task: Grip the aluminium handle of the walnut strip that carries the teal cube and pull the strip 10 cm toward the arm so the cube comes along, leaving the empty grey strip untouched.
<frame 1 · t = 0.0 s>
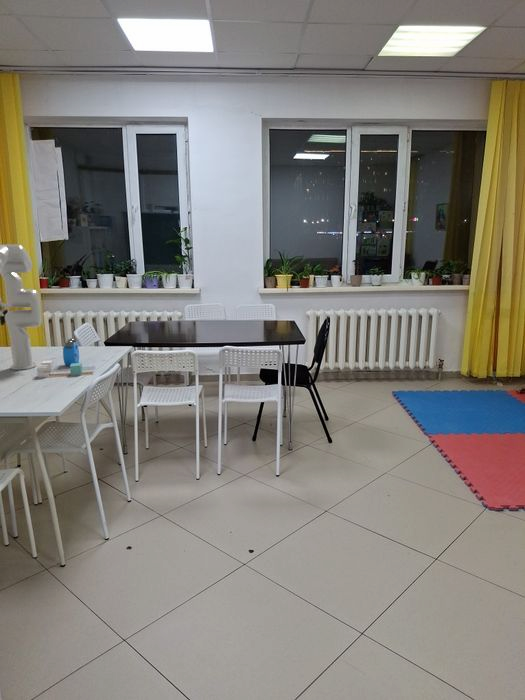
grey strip: (68, 365, 246), point 3 cm above the table, slide at 0.0 cm
alarm clock: (72, 366, 259), on the table
teal cube: (76, 373, 238), point 1 cm above the table, touching walnut strip
walnut strip: (65, 370, 237), point 3 cm above the table, slide at 0.0 cm, touching teal cube
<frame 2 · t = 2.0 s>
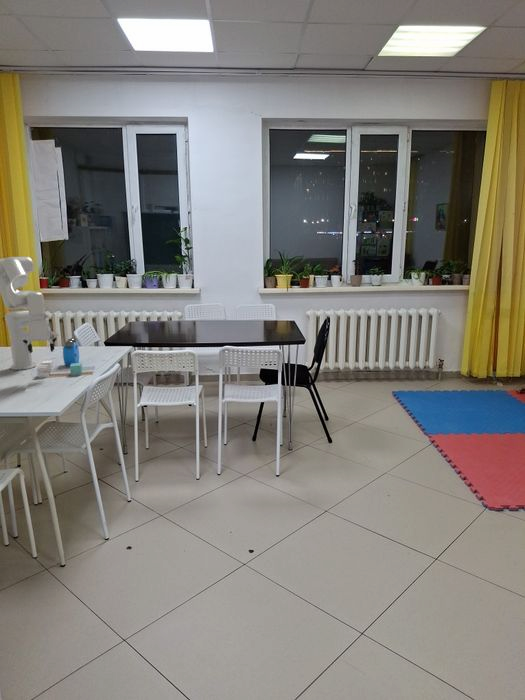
hand: (41, 351, 231), 14 cm above the table, tool pointing down, fingers open, 9 cm apart
nothing on the table moved.
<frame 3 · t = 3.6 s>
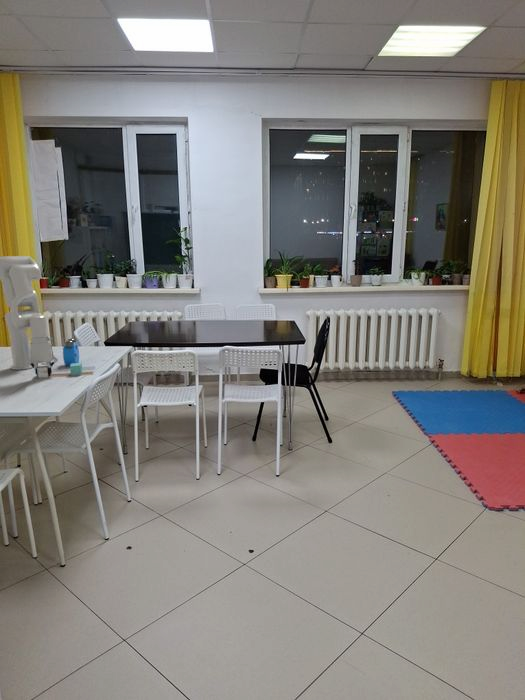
hand: (43, 375, 234), 2 cm above the table, tool pointing down, fingers closed on walnut strip, 4 cm apart
walnut strip: (65, 370, 237), point 3 cm above the table, slide at 0.0 cm, touching gripper, teal cube
everything else where it was.
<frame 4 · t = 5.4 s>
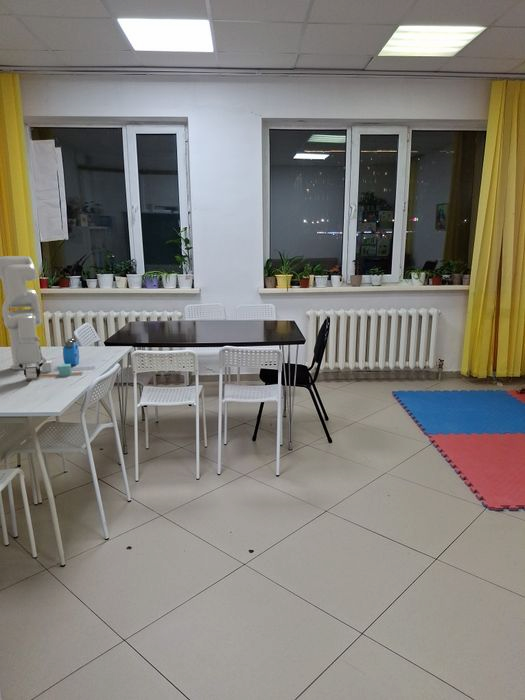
hand: (32, 375, 233), 2 cm above the table, tool pointing down, fingers closed on walnut strip, 4 cm apart
teal cube: (65, 374, 237), point 1 cm above the table, touching walnut strip
walnut strip: (54, 371, 235), point 3 cm above the table, slide at 5.3 cm, touching gripper, teal cube
everything else where it was.
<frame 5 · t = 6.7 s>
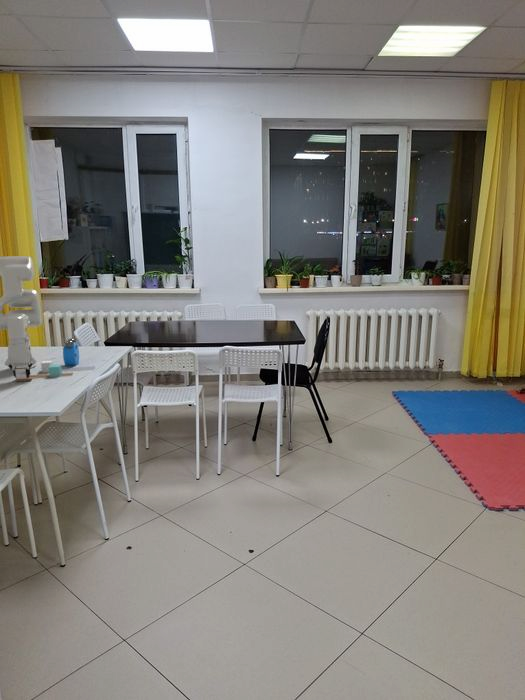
hand: (22, 376, 232), 2 cm above the table, tool pointing down, fingers closed on walnut strip, 4 cm apart
teal cube: (55, 375, 236), point 1 cm above the table, touching walnut strip
walnut strip: (44, 372, 234), point 3 cm above the table, slide at 10.0 cm, touching gripper, teal cube
everything else where it was.
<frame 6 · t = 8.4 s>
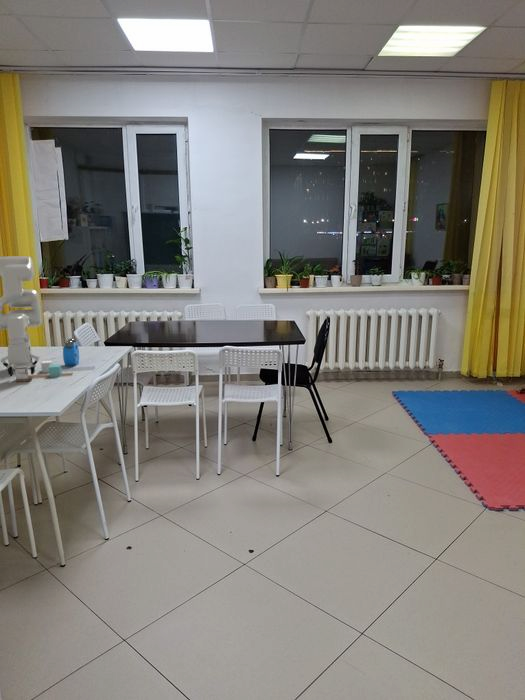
hand: (22, 374, 232), 3 cm above the table, tool pointing down, fingers open, 9 cm apart
walnut strip: (44, 372, 234), point 3 cm above the table, slide at 10.0 cm, touching teal cube
everything else where it was.
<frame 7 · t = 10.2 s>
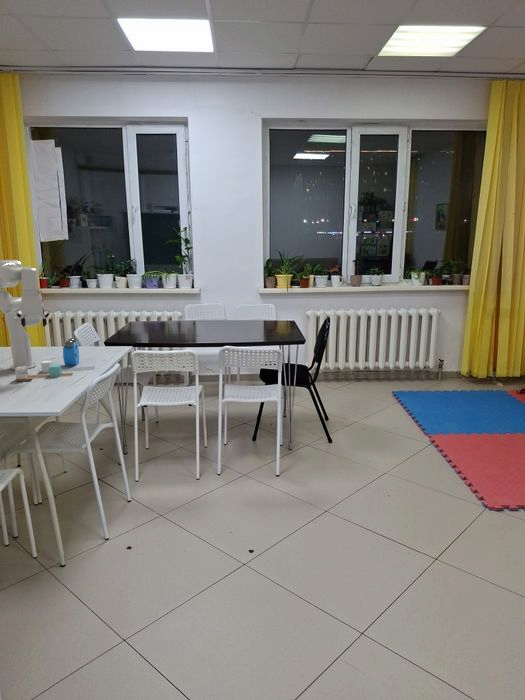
hand: (34, 326, 238), 25 cm above the table, tool pointing down, fingers open, 9 cm apart
nothing on the table moved.
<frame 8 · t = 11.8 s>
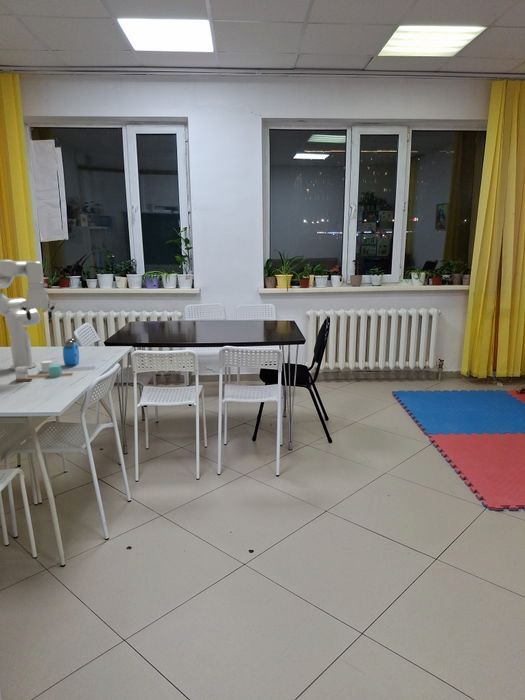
hand: (39, 319, 240), 28 cm above the table, tool pointing down, fingers open, 9 cm apart
nothing on the table moved.
at the end: walnut strip slide at 10.0 cm; teal cube inside the target area (1.5 cm from its centre), point 1.2 cm above the table; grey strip slide at 0.0 cm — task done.
